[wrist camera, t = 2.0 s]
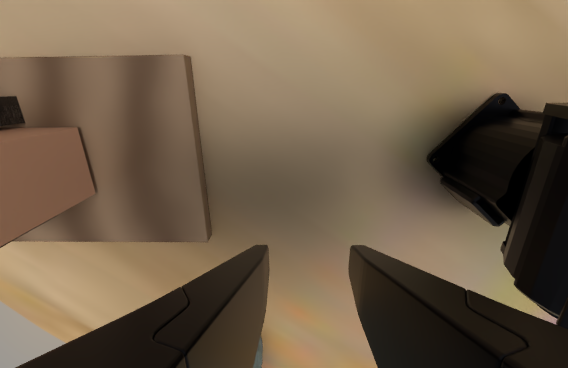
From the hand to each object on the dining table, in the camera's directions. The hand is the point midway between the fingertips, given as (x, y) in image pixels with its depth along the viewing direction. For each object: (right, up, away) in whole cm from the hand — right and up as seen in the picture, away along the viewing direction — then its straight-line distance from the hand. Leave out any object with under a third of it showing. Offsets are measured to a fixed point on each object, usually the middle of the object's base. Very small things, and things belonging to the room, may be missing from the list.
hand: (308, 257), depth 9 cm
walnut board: (-17, +5, +13) cm, 22 cm away
